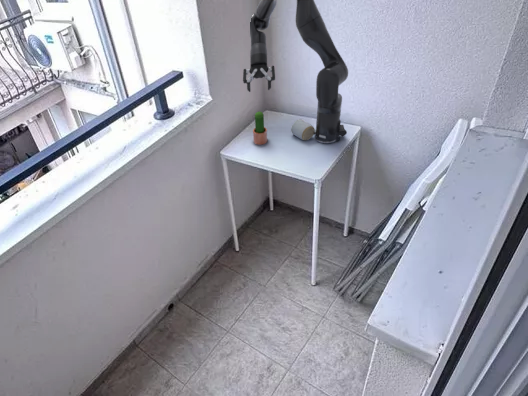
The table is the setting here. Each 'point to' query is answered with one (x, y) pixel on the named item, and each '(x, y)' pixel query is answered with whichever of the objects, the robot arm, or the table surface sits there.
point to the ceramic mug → (302, 129)
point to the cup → (260, 137)
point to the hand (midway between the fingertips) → (259, 90)
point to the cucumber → (259, 122)
